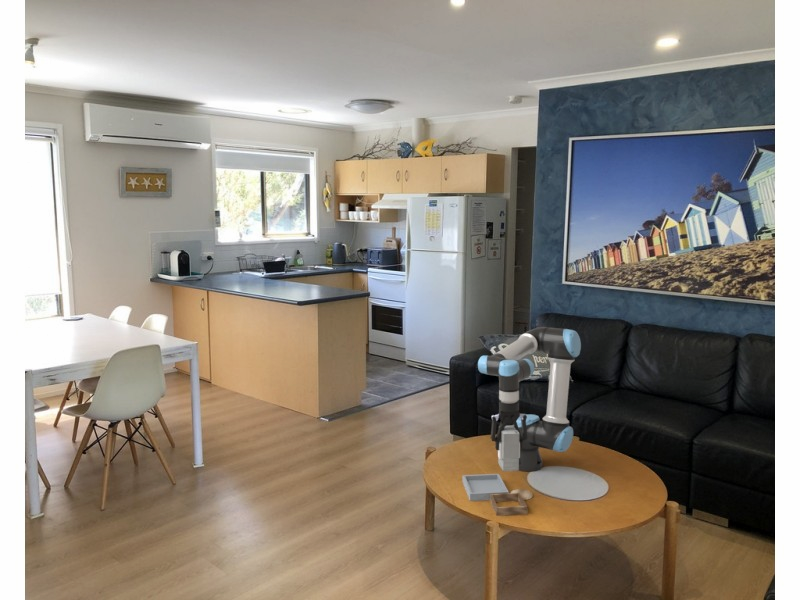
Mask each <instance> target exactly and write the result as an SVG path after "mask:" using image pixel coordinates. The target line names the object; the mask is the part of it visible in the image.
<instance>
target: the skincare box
mask: <svg viewBox="0 0 800 600" xmlns="http://www.w3.org/2000/svg"><path fill="white" fill-rule="evenodd" d="M500 441H501V459H499V457H498V456H497V462H498V465H499V467H500V469H501V470H502V471H503V472H515V471H517V472H518V471H520V470H519V432H518V431H517V430H516V429H515V428H514V425H513V424H509V425H506V426H505V428H504V430H503V431H502V436H501V439H500Z"/></svg>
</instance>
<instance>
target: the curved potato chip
mask: <svg viewBox="0 0 800 600" xmlns="http://www.w3.org/2000/svg"><path fill="white" fill-rule="evenodd" d="M509 493H520V495H521V496H522V498H523V500H524V501H528V500H531V499H532V498H533V497H534V496H533V492H531V491H530V490H528V489H522V488H517V489H513V490H511V491H510V492H509Z"/></svg>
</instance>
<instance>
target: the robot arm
mask: <svg viewBox="0 0 800 600" xmlns="http://www.w3.org/2000/svg"><path fill="white" fill-rule="evenodd" d="M581 349H582V343H581V338H580V336H579V334H578V332H577V331H576V330H573V329H568V328H558V327H557V328H556V327H550V326H549V327H548V326H542V327H536V328H533V329H530V330H528V331H525V332H523V333H522V334H521V335H519V337H518V339H516V340H515V341H513V342H511V343H510V344H508V345H507V346H505V347H504V348H502V349H500V350H499V351H497V352H495V353H494V354H491V355H481V356H480V357H479V359H478V361H477V368H478V369H477V370H478V371H479V373H481V374H485V375H489V376H494V377H495V376H496V377H498V381H499V382H498V385H499V386H498V399H499V401H498V413H497V414H495V415H494V414H491V415H490V417H491V420H492V421H491V428H490V429H491V430H490V439H491V441H492V442H494V443H495V445H494V446H495V448H494V449H495V450H496V451H497V458H498V457H499V459H501V441H500V439H501V436H502V431H503V430H504V428H505V426H507V425H514V428H515V429H516V430H517V431H518V432H519V470H518V471H521V472H534V471H539V470H541V469H542V468H543V459H542V456H541V452H540V449H539V448H541V449H546V450H550V451H553V452H560V453H564V452H566V451H567V450H568V449H569V448H570V446H571V445H572V441H573V439H574V438H573V437H574V429H573V427H572V426H570V420H568V418H567V410H568V399H569V397H568V396H569V389H570V375H571V365H572V363H573V362H575V358H577V357H578V356H580V354H581ZM534 353H544V354H547V359H548V360H549V361H550V365H549V366H550V369H549V379H548V392H547V400H546V401H547V403H546V414H545V415H544V416H543V417H542V419H541V420H540V417H539V415H536V414H526V413H524V412H523V413H520V401H519V400H520V382H521V381H525V380H526V379H529V378H530V377H531V376H532V375H533V374H534V373H535V366H534V363H533V362H532V360H530V359H528V358H524V357H526V356H527V355H531V354H534ZM499 419H500V423H499V426H498V430H497V421H498V420H499ZM496 432H497V433H496Z"/></svg>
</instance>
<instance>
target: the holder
mask: <svg viewBox="0 0 800 600" xmlns="http://www.w3.org/2000/svg"><path fill="white" fill-rule="evenodd" d="M516 501H517V502H518V504H519V505H516V506H514V505H513V506H498V504H497V503H498V502H516ZM489 503H490V504H491V507H492V509H493V511H494V513H495V515H496V516H512V515H513V516H514V515H515V516H516V515H528V505H527V503H526V502H525V500H523V498H522V496H521V495H520V493H510V492H509V493H502V494H490V500H489Z"/></svg>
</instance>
